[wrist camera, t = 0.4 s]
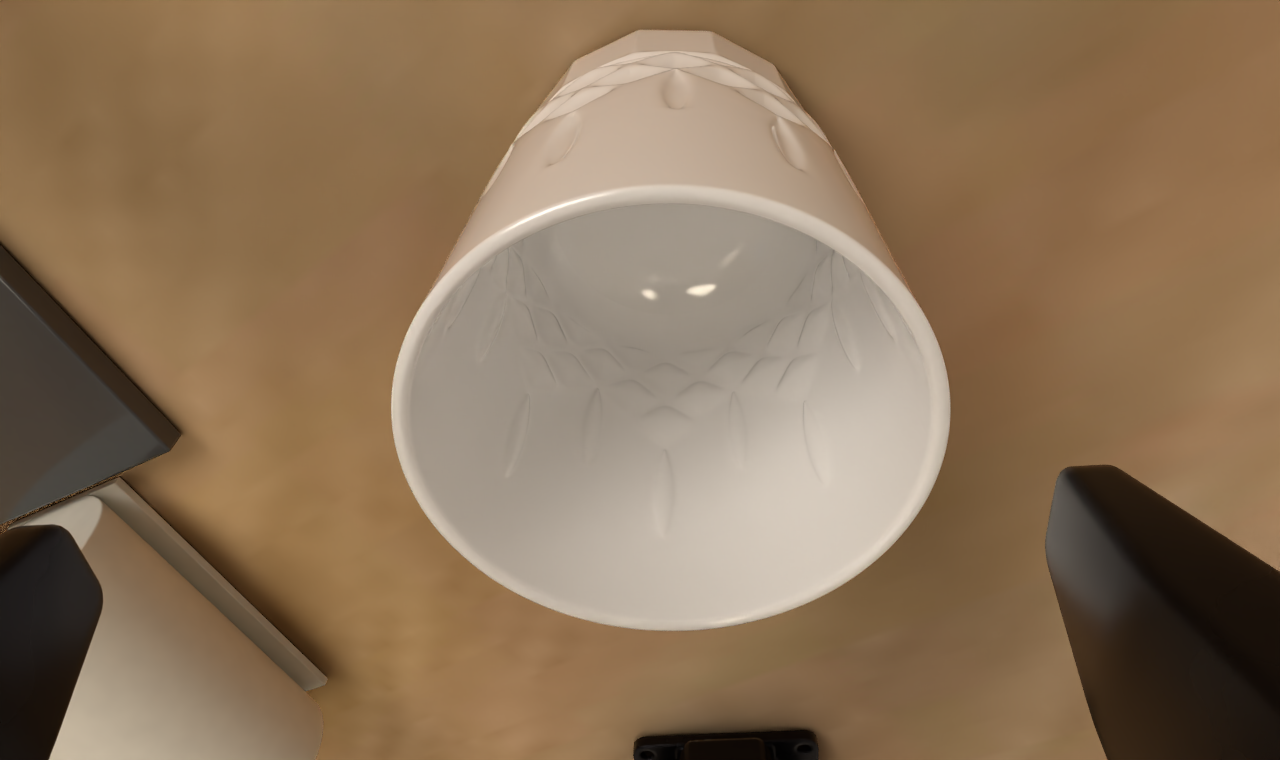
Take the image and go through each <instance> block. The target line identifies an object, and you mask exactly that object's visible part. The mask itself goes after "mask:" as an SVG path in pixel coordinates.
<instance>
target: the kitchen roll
mask: <svg viewBox="0 0 1280 760" xmlns="http://www.w3.org/2000/svg"><path fill="white" fill-rule="evenodd" d="M45 524H55V525H59V526H62V527H63V528H65V529H66V530H68V531H69V532H70V533H71V535H72V536H73V538H74V539H75V541H76V543H77V544H78V546H79V548H80V550H81V551H82V553H83V555H84V556H85V558H86V560H87V562H88V563H89V565H90V567H91V568H92V570H93V572H94V573H95V575H96V577H97V579H98V580H99V582H100V584H101V587H102V591H103V608H102V612H101V615H100V618H99V621H98V624H97V627H96V630H95V632H94V635H93V638H92V641H91V644H90V647H89V649H88V652H87V655H86V658H85V661H84V664H83V666H82V669H81V672H80V675H79V678H78V680H77V683H76V686H75V689H74V692H73V695H72V697H71V700H70V703H69V706H68V709H67V712H66V714H65V717H64V720H63V723H62V726H61V729H60V731H59V734H58V737H57V740H56V742H55V745H54V748H53V750H52V753H51V755H50V758H49V760H315V759H316V757H317V754H318V751H319V748H320V745H321V741H322V735H323V715H322V712H321V709H320V707H319V705H318V704H317V702H316V701H315V700H314V699H313V698H312V697H311V696H310V695H309V694H308V693H306V692H305V691H308V690H312V689H315V688H318V687H321V686H324V685H325V684H326V682H327V677H326V676H325V675H324V674H323V673H322V672H321V671H320V670H319V669H318V668H317V667H316V666H314V665H313V664H312V663H311V662H310V661H309V660H308V659H307V658H306V657H305V656H304V655H303V654H302V653H301V652H300V651H299V650H298V649H297V648H296V647H295V646H294V645H293V644H292V643H291V642H290V641H289V640H288V639H287V638H286V637H285V636H283V635H282V634H281V633H280V632H279V631H278V630H277V629H276V628H275V627H274V626H273V625H272V624H271V623H270V622H269V621H268V620H267V619H266V618H265V617H264V616H263V615H262V614H261V613H260V612H259V611H258V610H257V609H256V608H255V607H254V606H252V605H251V604H250V603H249V602H248V601H247V600H246V599H245V598H244V597H243V596H242V595H241V594H240V593H239V592H238V591H237V590H236V589H235V588H234V587H233V586H232V585H231V584H230V583H229V582H228V581H227V580H226V579H225V578H224V577H223V576H222V575H220V574H219V573H218V572H217V571H216V570H215V569H214V568H213V567H212V566H211V565H210V564H209V563H208V562H207V561H206V560H205V559H204V558H203V557H202V556H201V555H200V554H199V553H198V552H197V551H196V550H195V549H194V548H193V547H192V546H191V545H189V544H188V543H187V542H186V541H185V540H184V539H183V538H182V537H181V536H180V535H179V534H178V533H177V532H176V531H175V530H174V529H173V528H172V527H171V526H170V525H169V524H168V523H167V522H166V521H165V520H164V519H163V518H162V517H161V516H160V515H158V514H157V513H156V512H155V511H154V510H153V509H152V508H151V507H150V506H149V505H148V504H147V503H146V502H145V501H144V500H143V499H142V498H141V497H140V496H139V495H138V494H137V493H136V492H135V491H134V490H133V489H132V488H131V487H130V486H129V485H128V484H126V483H125V482H124V481H123V480H122V479H121V478H120V477H118V478H115V479H113V480H111V481H108V482H106V483H104V484H101V485H99V486H97V487H94V488H92V489H90V490H88V491H85V492H83V493H81V494H78V495H76V496H74V497H71V498H69V499H67V500H64V501H62V502H60V503H57V504H55V505H53V506H51V507H48V508H46V509H44V510H41V511H39V512H37V513H34V514H32V515H30V516H27V517H25V518H23V519H20V520H18V521H16V522H13V523H12V524H11V525H10V526H9V527H8V529H7V530H9V529H11V528H15V527H19V526H27V525H45Z"/></svg>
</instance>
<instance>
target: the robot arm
mask: <svg viewBox="0 0 1280 760" xmlns="http://www.w3.org/2000/svg"><path fill="white" fill-rule="evenodd" d="M1045 551H1046V559H1047V564H1048V568H1049V572H1050V575H1051V579H1052V582H1053V586H1054V589H1055V593H1056V596H1057V600H1058V603H1059V607H1060V610H1061V614H1062V617H1063V621H1064V624H1065V627H1066V631H1067V634H1068V638H1069V641H1070V645H1071V648H1072V652H1073V655H1074V659H1075V662H1076V666H1077V669H1078V673H1079V676H1080V680H1081V683H1082V687H1083V690H1084V694H1085V697H1086V700H1087V704H1088V707H1089V710H1090V713H1091V716H1092V720H1093V723H1094V726H1095V728H1096V731H1097V734H1098V736H1099V739H1100V741H1101V744H1102V747H1103V749H1104V752H1105V754H1106V757H1107V759H1108V760H1280V572H1279V571H1278V570H1276V569H1274V568H1273V567H1271V566H1270V565H1268V564H1267V563H1265V562H1264V561H1262V560H1260V559H1259V558H1257V557H1256V556H1254V555H1253V554H1251V553H1250V552H1248V551H1246V550H1245V549H1243V548H1242V547H1240V546H1239V545H1237V544H1236V543H1234V542H1232V541H1231V540H1229V539H1228V538H1226V537H1225V536H1223V535H1222V534H1220V533H1218V532H1217V531H1215V530H1214V529H1212V528H1211V527H1209V526H1208V525H1206V524H1205V523H1203V522H1201V521H1200V520H1198V519H1197V518H1195V517H1194V516H1192V515H1191V514H1189V513H1187V512H1186V511H1184V510H1183V509H1181V508H1180V507H1178V506H1177V505H1175V504H1173V503H1172V502H1170V501H1169V500H1167V499H1166V498H1164V497H1163V496H1161V495H1159V494H1158V493H1156V492H1155V491H1153V490H1152V489H1150V488H1149V487H1147V486H1145V485H1144V484H1142V483H1141V482H1139V481H1138V480H1136V479H1135V478H1133V477H1131V476H1130V475H1128V474H1127V473H1125V472H1124V471H1122V470H1120V469H1118V468H1117V467H1114V466H1111V465H1090V466H1073V467H1067V468H1065V469H1064V470H1062V471H1061V472H1060V474H1059V476H1058V478H1057V481H1056V485H1055V490H1054V495H1053V500H1052V506H1051V511H1050V516H1049V522H1048V527H1047V532H1046V539H1045ZM102 608H103V591H102V587H101V584H100V582H99V580H98V579H97V577H96V575H95V573H94V572H93V570H92V568H91V567H90V565H89V563H88V562H87V560H86V558H85V556H84V555H83V553H82V551H81V550H80V548H79V546H78V544H77V543H76V541H75V539H74V538H73V536H72V535H71V533H70V532H69V531H68V530H66V529H65V528H63V527H62V526H59V525H55V524H45V525H27V526H19V527H15V528H11V529H9V530H7V531H5V532H4V533H2V534H0V760H49V758H50V755H51V753H52V750H53V748H54V745H55V742H56V740H57V737H58V734H59V731H60V729H61V726H62V723H63V720H64V717H65V714H66V712H67V709H68V706H69V703H70V700H71V697H72V695H73V692H74V689H75V686H76V683H77V680H78V678H79V675H80V672H81V669H82V666H83V664H84V661H85V658H86V655H87V652H88V649H89V647H90V644H91V641H92V638H93V635H94V632H95V630H96V627H97V624H98V621H99V618H100V615H101V612H102ZM633 756H634V760H818V743H817V737H816V735H815V734H814V733H813V732H810V731H807V730H795V731H770V732H746V733H722V734H698V735H674V736H649V737H641V738H639V739H637V740H636V741H635V742H634V755H633Z"/></svg>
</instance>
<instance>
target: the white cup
mask: <svg viewBox="0 0 1280 760" xmlns="http://www.w3.org/2000/svg"><path fill="white" fill-rule="evenodd" d="M391 418H392V429H393V436H394V441H395V446H396V450H397V454H398V458H399V461H400V464H401V467H402V470H403V473H404V475H405V478H406V480H407V482H408V484H409V486H410V489H411V491H412V492H413V494H414V496H415V498H416V500H417V502H418V503H419V505H420V507H421V508H422V510H423V511H424V513H425V514H426V516H427V517H428V518H429V520H430V521H431V522H432V524H433V525H434V526H435V528H436V529H437V530H438V531H439V532H440V534H441V535H442V536H443V537H444V538H445V539H446V540H447V541H448V542H449V543H450V544H451V546H452V547H454V548H455V549H456V550H457V551H458V552H459V553H460V554H461V555H462V556H463V557H464V558H465V559H467V560H468V561H469V562H470V563H471V564H473V565H474V566H475V567H476V568H478V569H479V570H480V571H482V572H483V573H484V574H486V575H487V576H489V577H490V578H491V579H493V580H494V581H496V582H498V583H499V584H501V585H502V586H504V587H506V588H507V589H509V590H511V591H513V592H515V593H516V594H518V595H520V596H522V597H524V598H526V599H528V600H531V601H533V602H535V603H537V604H539V605H542V606H544V607H547V608H549V609H552V610H555V611H557V612H560V613H563V614H566V615H569V616H572V617H576V618H579V619H583V620H587V621H591V622H595V623H600V624H604V625H610V626H615V627H622V628H629V629H639V630H651V631H694V630H706V629H715V628H723V627H729V626H735V625H740V624H745V623H749V622H754V621H758V620H761V619H765V618H769V617H772V616H775V615H778V614H781V613H784V612H787V611H790V610H792V609H795V608H797V607H800V606H802V605H805V604H807V603H809V602H811V601H814V600H816V599H818V598H820V597H822V596H824V595H826V594H827V593H829V592H831V591H833V590H835V589H836V588H838V587H840V586H841V585H843V584H845V583H846V582H848V581H849V580H851V579H852V578H854V577H855V576H857V575H858V574H859V573H861V572H862V571H863V570H865V569H866V568H867V567H869V566H870V565H871V564H872V563H874V562H875V561H876V560H877V559H878V558H879V557H881V556H882V555H883V554H884V553H885V552H886V551H887V550H888V549H889V548H890V547H891V546H892V545H893V544H894V543H895V542H896V541H897V540H898V539H899V537H900V536H901V535H902V534H903V533H904V532H905V530H906V529H907V528H908V527H909V525H910V524H911V523H912V521H913V520H914V519H915V517H916V516H917V514H918V513H919V511H920V510H921V508H922V506H923V505H924V503H925V501H926V500H927V498H928V496H929V494H930V492H931V490H932V488H933V486H934V484H935V481H936V479H937V477H938V474H939V471H940V468H941V465H942V462H943V459H944V455H945V451H946V447H947V442H948V436H949V428H950V390H949V382H948V376H947V371H946V366H945V362H944V359H943V355H942V352H941V349H940V346H939V344H938V341H937V339H936V336H935V334H934V332H933V329H932V327H931V325H930V323H929V321H928V320H927V318H926V316H925V314H924V312H923V310H922V309H921V307H920V305H919V303H918V301H917V300H916V298H915V296H914V294H913V292H912V291H911V289H910V287H909V285H908V283H907V281H906V280H905V278H904V276H903V274H902V272H901V270H900V269H899V267H898V265H897V263H896V261H895V259H894V257H893V256H892V254H891V252H890V250H889V248H888V246H887V244H886V242H885V241H884V239H883V237H882V235H881V233H880V231H879V229H878V227H877V225H876V223H875V221H874V220H873V218H872V216H871V214H870V212H869V210H868V208H867V206H866V204H865V202H864V201H863V199H862V197H861V195H860V193H859V191H858V189H857V187H856V186H855V184H854V182H853V180H852V178H851V177H850V175H849V173H848V172H847V170H846V168H845V166H844V165H843V163H842V162H841V160H840V158H839V157H838V155H837V153H836V151H835V150H834V149H833V148H832V146H831V145H830V143H829V141H828V139H827V138H826V136H825V134H824V133H823V131H822V130H821V128H820V127H819V125H818V124H817V123H816V122H815V120H814V119H813V118H812V117H811V116H810V115H809V114H808V113H807V112H806V111H805V109H804V108H803V106H802V105H801V103H800V102H799V100H798V99H797V97H796V96H795V95H794V93H793V92H792V90H791V89H790V87H789V86H788V84H787V83H786V81H785V80H784V79H783V77H782V76H781V74H780V73H779V71H778V70H777V68H776V67H775V65H774V64H772V63H771V62H769V61H767V60H765V59H763V58H761V57H759V56H757V55H755V54H754V53H752V52H750V51H748V50H746V49H744V48H742V47H740V46H738V45H737V44H735V43H733V42H731V41H729V40H727V39H725V38H723V37H721V36H720V35H718V34H716V33H714V32H712V31H690V30H637V31H635V32H633V33H630V34H628V35H626V36H624V37H622V38H620V39H618V40H616V41H614V42H612V43H610V44H607V45H605V46H603V47H601V48H599V49H597V50H595V51H593V52H591V53H589V54H587V55H585V56H582V57H580V58H578V59H576V60H575V61H574V62H573V63H572V64H571V65H570V67H569V68H568V69H567V71H566V72H565V73H564V75H563V76H562V77H561V79H560V80H559V81H558V82H557V84H556V85H555V86H554V88H553V89H552V90H551V92H550V93H549V94H548V96H547V97H546V98H545V99H544V101H543V102H542V103H541V105H540V106H539V107H538V109H537V110H536V111H535V113H534V114H533V115H532V116H531V117H530V119H529V120H528V121H527V122H526V124H525V125H524V126H523V128H522V129H521V131H520V132H519V134H518V136H517V137H516V139H515V140H514V142H513V143H512V144H511V146H510V148H509V150H508V151H507V153H506V154H505V156H504V157H503V159H502V160H501V162H500V164H499V165H498V167H497V168H496V170H495V172H494V173H493V175H492V177H491V178H490V180H489V182H488V184H487V185H486V187H485V189H484V191H483V193H482V195H481V196H480V198H479V200H478V202H477V204H476V206H475V208H474V209H473V211H472V213H471V215H470V217H469V219H468V221H467V223H466V224H465V226H464V228H463V230H462V232H461V234H460V236H459V237H458V239H457V241H456V243H455V245H454V247H453V248H452V250H451V252H450V254H449V256H448V258H447V260H446V261H445V263H444V265H443V267H442V269H441V270H440V272H439V274H438V276H437V278H436V279H435V281H434V283H433V285H432V287H431V288H430V290H429V292H428V294H427V296H426V297H425V299H424V301H423V303H422V305H421V306H420V308H419V310H418V312H417V313H416V315H415V317H414V319H413V321H412V323H411V325H410V327H409V329H408V331H407V334H406V336H405V338H404V341H403V344H402V346H401V349H400V352H399V356H398V359H397V363H396V367H395V372H394V378H393V385H392V396H391Z"/></svg>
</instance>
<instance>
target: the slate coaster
mask: <svg viewBox="0 0 1280 760" xmlns="http://www.w3.org/2000/svg"><path fill="white" fill-rule="evenodd" d="M180 436H181V433H180V432H179V431H178V430H177V429H176V428H175V427H174V426H173V425H172V424H171V423H170V422H169V420H168V419H167V418H166V417H165V416H164V415H163V414H162V413H161V412H160V411H159V410H158V409H157V408H156V407H155V406H154V405H153V404H152V403H151V402H150V401H149V400H148V398H147V397H146V396H145V395H144V394H143V393H142V392H141V391H140V390H139V389H138V388H137V387H136V386H135V385H134V384H133V383H132V382H131V381H130V380H129V379H128V378H127V376H126V375H125V374H124V373H123V372H122V371H121V370H120V369H119V368H118V367H117V366H116V365H115V364H114V363H113V362H112V361H111V360H110V359H109V358H108V357H107V356H106V354H105V353H104V352H103V351H102V350H101V349H100V348H99V347H98V346H97V345H96V344H95V343H94V342H93V341H92V340H91V339H90V338H89V337H88V336H87V335H86V334H85V333H84V331H83V330H82V329H81V328H80V327H79V326H78V325H77V324H76V323H75V322H74V321H73V320H72V319H71V318H70V317H69V316H68V315H67V314H66V313H65V312H64V311H63V309H62V308H61V307H60V306H59V305H58V304H57V303H56V302H55V301H54V300H53V299H52V298H51V297H50V296H49V295H48V294H47V293H46V292H45V291H44V290H43V289H42V287H41V286H40V285H39V284H38V283H37V282H36V281H35V280H34V279H33V278H32V277H31V276H30V275H29V274H28V273H27V272H26V271H25V270H24V269H23V268H22V267H21V265H20V264H19V263H18V262H17V261H16V260H15V259H14V258H13V257H12V256H11V255H10V254H9V253H8V252H7V251H6V250H5V249H4V248H3V247H2V246H1V245H0V525H1V524H3V523H6V522H8V521H10V520H12V519H15V518H17V517H19V516H22V515H24V514H26V513H29V512H31V511H33V510H35V509H38V508H40V507H42V506H45V505H47V504H49V503H52V502H54V501H56V500H59V499H61V498H63V497H65V496H68V495H70V494H72V493H75V492H77V491H79V490H82V489H84V488H86V487H89V486H91V485H93V484H95V483H98V482H100V481H102V480H105V479H107V478H109V477H112V476H114V475H116V474H119V473H121V472H123V471H125V470H128V469H130V468H132V467H135V466H137V465H139V464H142V463H144V462H146V461H148V460H151V459H153V458H155V457H158V456H160V455H162V454H165V453H167V452H169V451H170V450H171V449H172V448H173V446H174V445H175V443H176V442H177V441H178V439H179V438H180Z"/></svg>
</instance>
